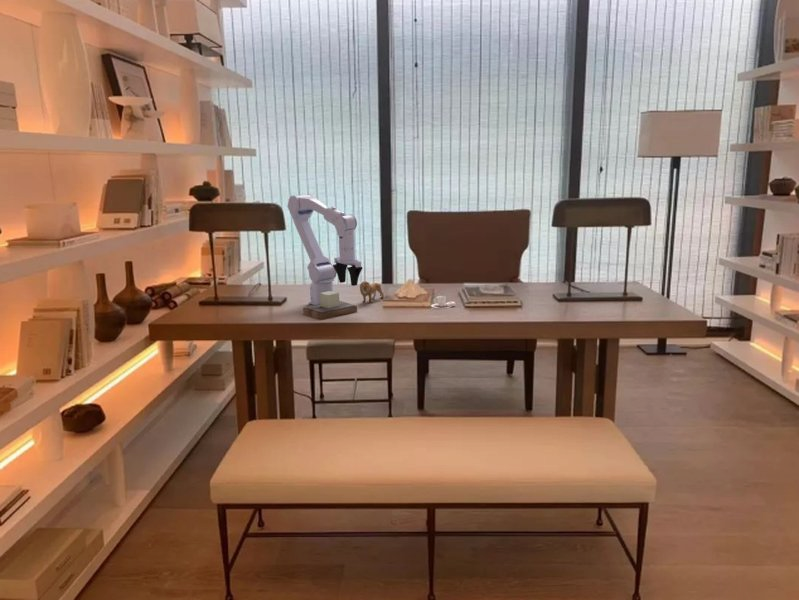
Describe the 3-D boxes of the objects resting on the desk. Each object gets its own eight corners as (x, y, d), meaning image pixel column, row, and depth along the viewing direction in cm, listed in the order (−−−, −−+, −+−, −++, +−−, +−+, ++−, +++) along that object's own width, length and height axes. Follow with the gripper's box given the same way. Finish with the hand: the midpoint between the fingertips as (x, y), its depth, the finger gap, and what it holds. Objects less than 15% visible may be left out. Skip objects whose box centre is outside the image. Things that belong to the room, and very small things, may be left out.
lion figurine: (369, 305, 245) (368, 282, 243) (357, 304, 248) (356, 281, 245) (386, 297, 258) (386, 275, 256) (375, 296, 260) (374, 274, 258)
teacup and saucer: (457, 306, 242) (457, 295, 241) (447, 310, 236) (447, 300, 235) (438, 303, 247) (438, 293, 246) (427, 307, 241) (427, 297, 240)
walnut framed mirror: (303, 313, 235) (302, 307, 234) (338, 306, 245) (338, 300, 244) (321, 319, 226) (320, 312, 225) (357, 311, 236) (356, 305, 235)
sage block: (320, 306, 235) (320, 293, 234) (331, 303, 238) (331, 290, 237) (328, 308, 231) (327, 295, 230) (339, 306, 234) (338, 292, 233)
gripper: (326, 247, 237) (328, 282, 240) (349, 251, 226) (351, 288, 229) (342, 245, 241) (343, 280, 244) (365, 249, 230) (366, 285, 234)
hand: (348, 283), depth 237 cm, fingers open, 7 cm apart
